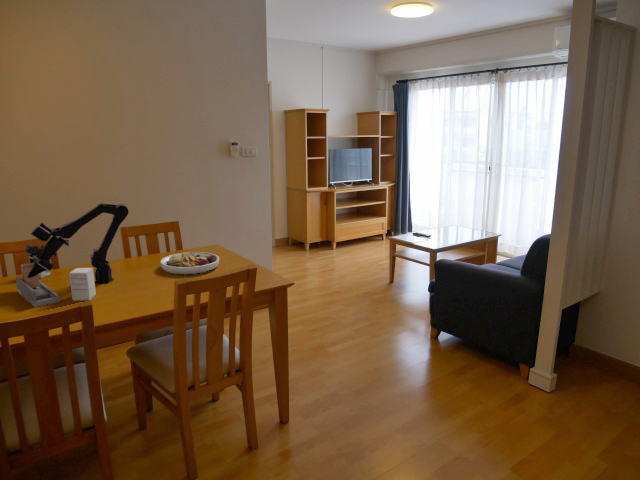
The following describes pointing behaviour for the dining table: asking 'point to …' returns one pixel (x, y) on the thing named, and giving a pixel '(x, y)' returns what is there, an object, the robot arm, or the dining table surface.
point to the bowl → (189, 262)
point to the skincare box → (44, 273)
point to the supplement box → (82, 284)
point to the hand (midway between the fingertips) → (26, 276)
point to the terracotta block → (25, 272)
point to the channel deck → (36, 293)
